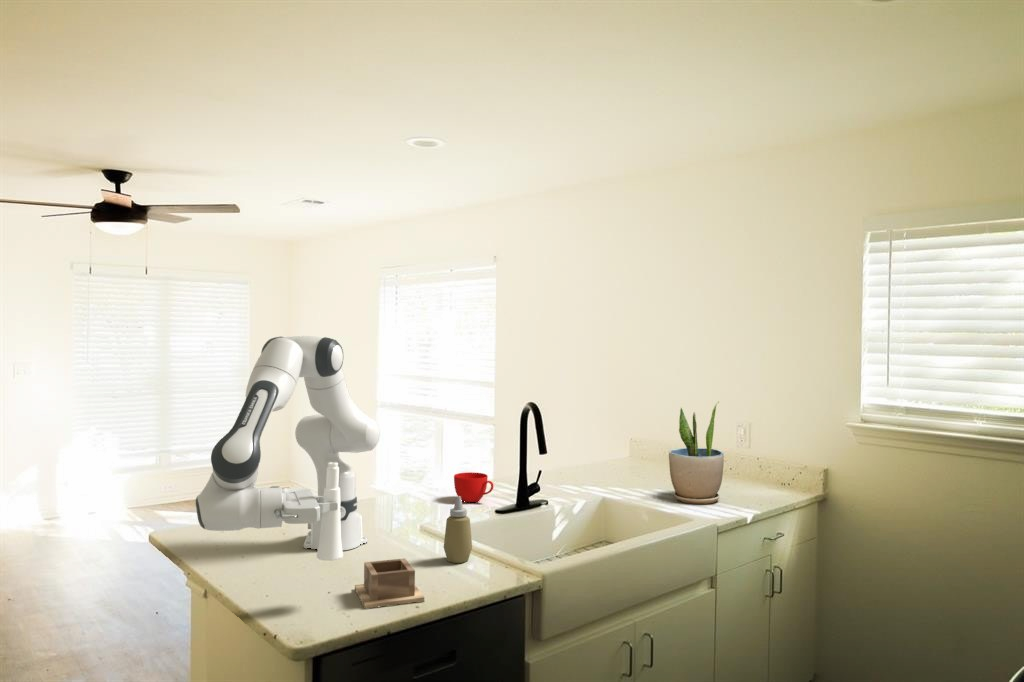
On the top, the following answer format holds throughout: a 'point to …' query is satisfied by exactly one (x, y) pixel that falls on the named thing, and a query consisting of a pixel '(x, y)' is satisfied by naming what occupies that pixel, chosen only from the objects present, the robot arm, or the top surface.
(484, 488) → the ceramic cup
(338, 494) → the cosmetic bottle
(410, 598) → the holder
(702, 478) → the potted plant
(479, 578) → the top surface
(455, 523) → the squeeze bottle
